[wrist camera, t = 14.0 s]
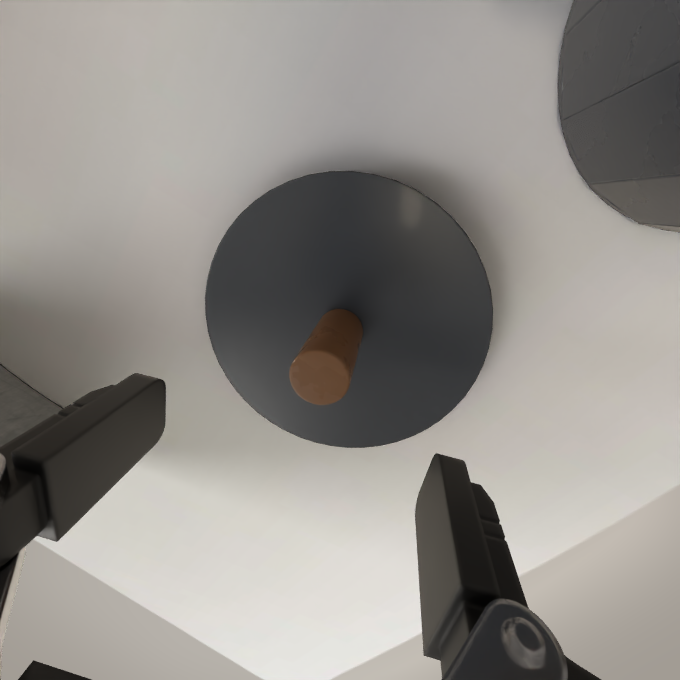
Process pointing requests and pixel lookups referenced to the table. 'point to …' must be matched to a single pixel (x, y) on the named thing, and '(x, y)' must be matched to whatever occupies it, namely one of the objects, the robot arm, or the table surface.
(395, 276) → the pot lid
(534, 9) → the table surface
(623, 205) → the pot
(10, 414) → the hip flask
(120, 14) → the table surface
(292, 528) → the table surface
